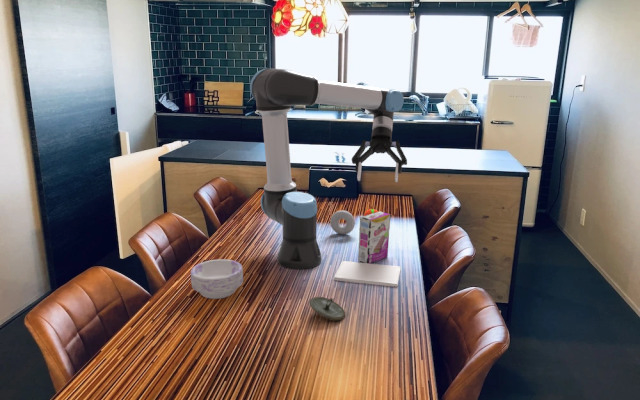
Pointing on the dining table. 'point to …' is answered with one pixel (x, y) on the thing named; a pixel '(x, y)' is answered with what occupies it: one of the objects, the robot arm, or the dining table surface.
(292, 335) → the dining table surface
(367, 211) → the clementine
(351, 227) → the donut
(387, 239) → the candy bar box
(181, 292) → the dining table surface
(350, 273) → the cutting board
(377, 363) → the dining table surface
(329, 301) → the lid
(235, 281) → the paper bowls
